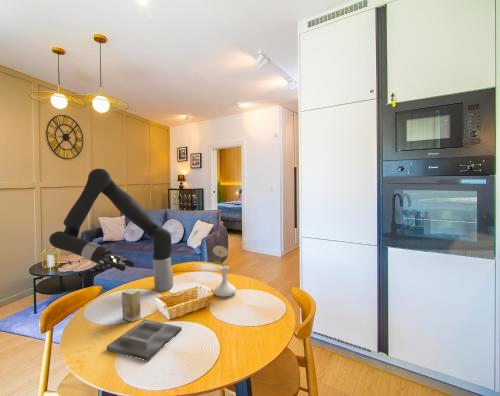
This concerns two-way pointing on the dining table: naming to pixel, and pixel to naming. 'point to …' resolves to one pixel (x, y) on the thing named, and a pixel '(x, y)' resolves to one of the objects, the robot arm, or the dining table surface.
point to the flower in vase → (223, 274)
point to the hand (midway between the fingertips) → (129, 266)
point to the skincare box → (131, 304)
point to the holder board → (144, 339)
